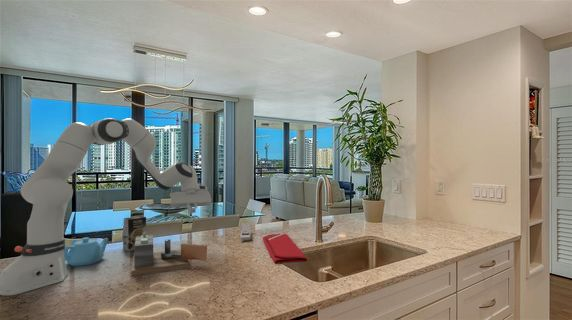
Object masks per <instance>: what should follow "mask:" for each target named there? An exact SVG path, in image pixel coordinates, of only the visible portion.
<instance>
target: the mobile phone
mask: <svg viewBox="0 0 572 320" xmlns="http://www.w3.org/2000/svg"><path fill="white" fill-rule="evenodd" d="M251 239H252V237H251V223H249V222H247V223H245V222H244V223H241V224H240V241H241V242H242V243H243V242H244V241H251Z"/></svg>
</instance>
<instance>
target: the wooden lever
mask: <svg viewBox="0 0 572 320" xmlns="http://www.w3.org/2000/svg"><path fill="white" fill-rule="evenodd" d="M176 250H177V249H171V239H164V251H160V252H161V258H163V259H170V258H179V259H188V260H193V261H205V262H206V261H207V260H208V245H206V244H194V243H193V244H192V243H180V250H181V254H178V253H177V251H176Z"/></svg>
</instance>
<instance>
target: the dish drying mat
mask: <svg viewBox="0 0 572 320" xmlns="http://www.w3.org/2000/svg"><path fill="white" fill-rule="evenodd" d="M291 238H292V237H290V236H289V235H288V233H276V234H274V233H273V234H268V235H266V236H263V237H262V241H263V243H264V246H265V248H266V250H267V252H268V254H269V256H270V258H271V259H272V261H273V263H274V265H275V264H288V263H303V262H304V263H305V262H308V258H307V256H306V255H305V254H304V252H303V251H302V250H301V249H300V247H298V246H297V244H296V243H295V242H294V241H293V239H291Z"/></svg>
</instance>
